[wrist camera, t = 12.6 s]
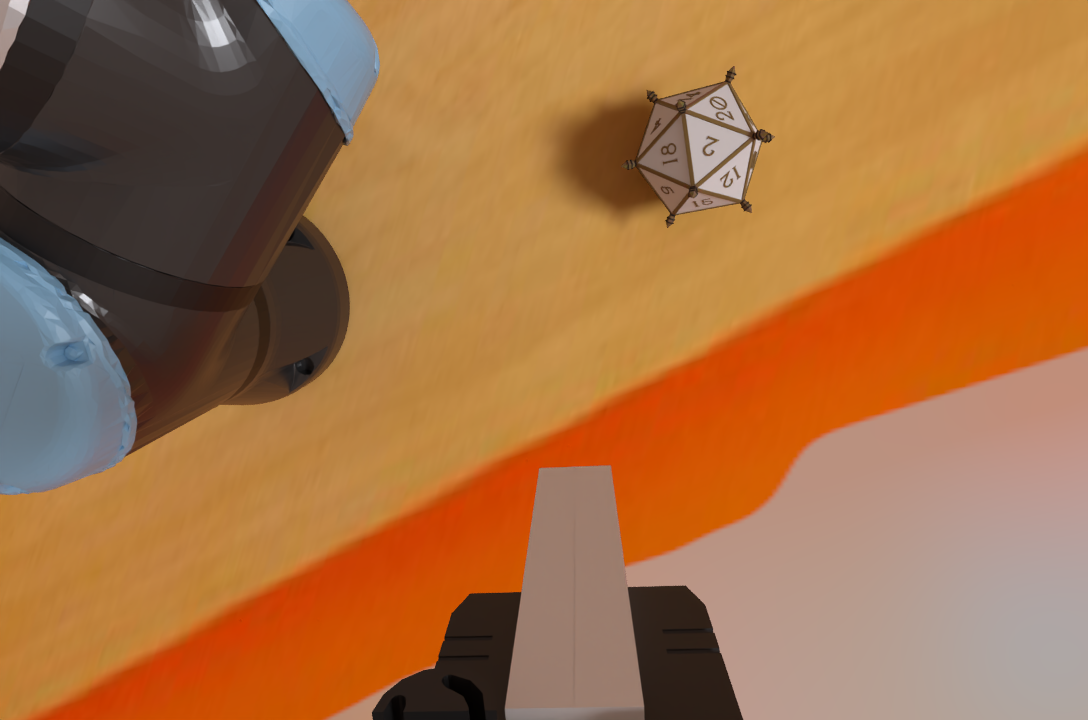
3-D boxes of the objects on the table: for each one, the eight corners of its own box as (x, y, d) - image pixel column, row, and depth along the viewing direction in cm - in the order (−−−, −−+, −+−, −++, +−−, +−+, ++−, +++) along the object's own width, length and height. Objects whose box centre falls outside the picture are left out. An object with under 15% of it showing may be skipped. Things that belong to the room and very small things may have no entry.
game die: (654, 149, 46) (606, 55, 37) (777, 120, 42) (756, 9, 33) (654, 261, 43) (604, 188, 34) (785, 240, 39) (765, 153, 31)
